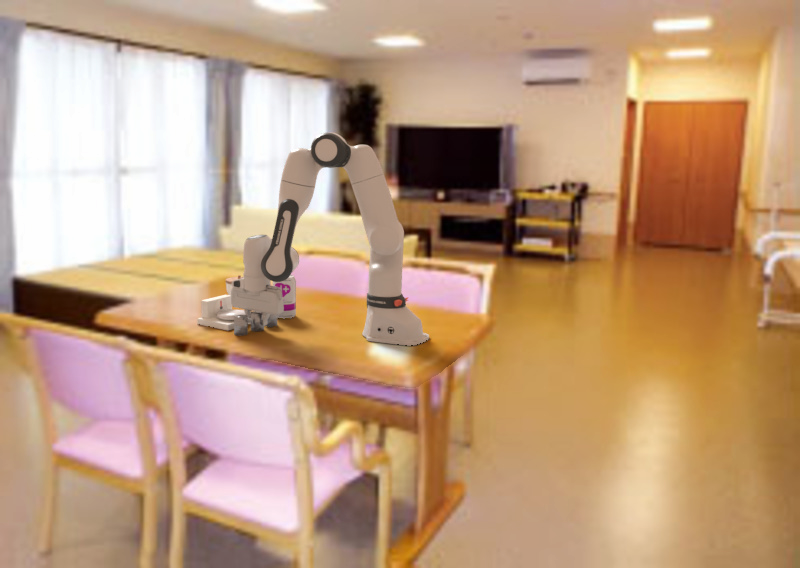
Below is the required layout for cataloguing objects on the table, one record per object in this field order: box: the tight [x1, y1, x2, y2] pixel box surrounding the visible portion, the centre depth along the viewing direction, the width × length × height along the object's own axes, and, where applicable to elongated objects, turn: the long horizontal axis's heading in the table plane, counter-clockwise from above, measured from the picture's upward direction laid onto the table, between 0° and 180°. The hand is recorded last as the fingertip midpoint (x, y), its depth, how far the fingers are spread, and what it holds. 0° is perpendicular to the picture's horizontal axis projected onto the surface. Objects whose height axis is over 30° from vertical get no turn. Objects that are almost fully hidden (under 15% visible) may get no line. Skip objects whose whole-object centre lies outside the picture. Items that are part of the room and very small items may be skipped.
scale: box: [196, 294, 251, 331], centre depth 242 cm, size 14×16×8 cm
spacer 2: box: [250, 311, 265, 332], centre depth 235 cm, size 4×4×6 cm
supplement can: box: [272, 274, 297, 320], centre depth 253 cm, size 8×8×15 cm
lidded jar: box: [225, 274, 243, 295], centre depth 280 cm, size 11×11×9 cm
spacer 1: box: [233, 315, 249, 337], centre depth 229 cm, size 4×4×6 cm
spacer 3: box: [264, 314, 278, 328], centre depth 241 cm, size 4×4×6 cm
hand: (257, 323), depth 235 cm, fingers closed on spacer 2, 4 cm apart
